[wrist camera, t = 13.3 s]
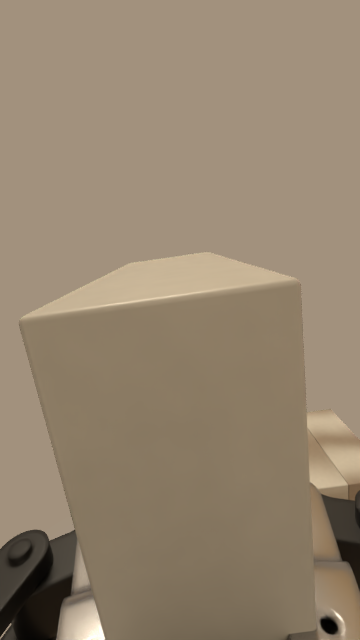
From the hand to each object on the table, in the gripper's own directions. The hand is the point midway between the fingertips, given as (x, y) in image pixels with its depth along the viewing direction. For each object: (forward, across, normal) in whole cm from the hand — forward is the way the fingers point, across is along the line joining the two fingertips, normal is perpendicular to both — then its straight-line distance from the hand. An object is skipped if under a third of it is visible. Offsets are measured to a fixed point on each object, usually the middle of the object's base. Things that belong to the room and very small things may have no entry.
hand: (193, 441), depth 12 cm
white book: (-3, 0, +10) cm, 10 cm away
